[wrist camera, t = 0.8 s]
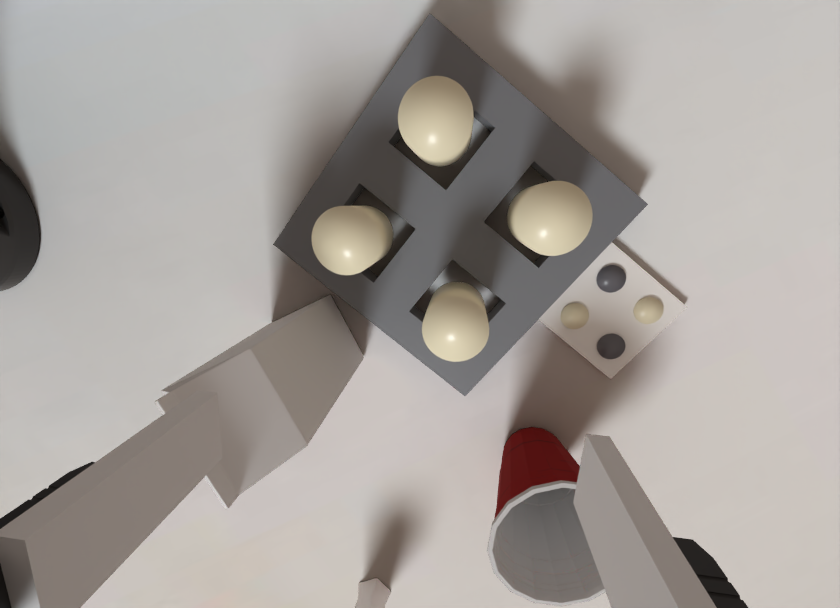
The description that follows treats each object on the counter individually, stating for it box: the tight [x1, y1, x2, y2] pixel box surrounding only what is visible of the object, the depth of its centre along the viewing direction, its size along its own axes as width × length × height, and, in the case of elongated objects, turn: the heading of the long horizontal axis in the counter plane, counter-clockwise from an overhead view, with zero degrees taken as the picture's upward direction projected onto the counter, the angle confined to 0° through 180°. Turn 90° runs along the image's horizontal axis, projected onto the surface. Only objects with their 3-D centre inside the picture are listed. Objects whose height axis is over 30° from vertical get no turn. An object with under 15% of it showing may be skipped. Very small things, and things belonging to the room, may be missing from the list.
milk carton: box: [155, 295, 364, 509], centre depth 30 cm, size 7×7×19 cm
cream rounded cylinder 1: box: [312, 206, 393, 275], centre depth 31 cm, size 5×5×6 cm
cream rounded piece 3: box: [422, 282, 489, 362], centre depth 31 cm, size 5×5×6 cm
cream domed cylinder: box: [507, 181, 593, 256], centre depth 29 cm, size 5×5×6 cm
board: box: [273, 14, 648, 396], centre depth 34 cm, size 22×22×2 cm
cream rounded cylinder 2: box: [398, 76, 474, 166], centre depth 28 cm, size 5×5×6 cm
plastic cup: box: [487, 427, 606, 606], centre depth 34 cm, size 11×11×12 cm
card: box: [538, 242, 687, 379], centre depth 35 cm, size 9×9×1 cm
